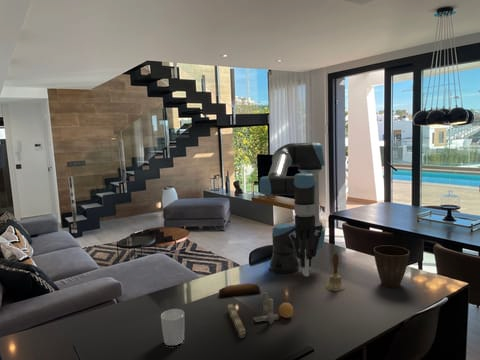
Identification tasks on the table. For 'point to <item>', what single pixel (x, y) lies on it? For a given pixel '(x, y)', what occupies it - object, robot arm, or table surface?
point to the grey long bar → (236, 320)
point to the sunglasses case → (239, 289)
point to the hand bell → (335, 277)
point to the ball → (286, 310)
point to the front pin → (266, 317)
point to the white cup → (173, 326)
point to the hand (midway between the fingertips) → (305, 274)
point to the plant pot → (391, 264)
